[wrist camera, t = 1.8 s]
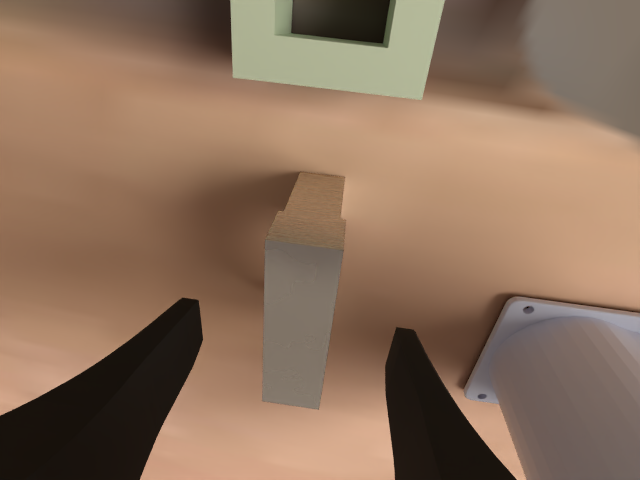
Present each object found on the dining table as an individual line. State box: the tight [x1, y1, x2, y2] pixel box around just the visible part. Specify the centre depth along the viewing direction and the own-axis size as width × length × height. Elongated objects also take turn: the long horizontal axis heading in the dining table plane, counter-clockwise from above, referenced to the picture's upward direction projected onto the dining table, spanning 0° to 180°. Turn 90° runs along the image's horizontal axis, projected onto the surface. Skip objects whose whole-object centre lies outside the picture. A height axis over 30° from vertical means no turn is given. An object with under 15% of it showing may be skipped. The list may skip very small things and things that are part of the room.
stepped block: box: [262, 172, 346, 410], centre depth 15 cm, size 2×8×6 cm, turn 175°
